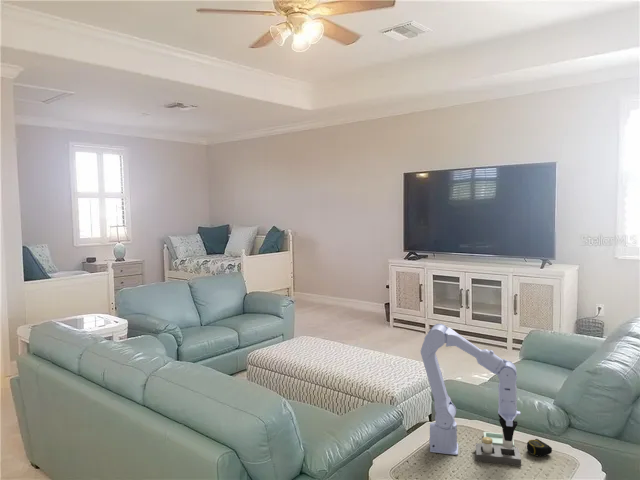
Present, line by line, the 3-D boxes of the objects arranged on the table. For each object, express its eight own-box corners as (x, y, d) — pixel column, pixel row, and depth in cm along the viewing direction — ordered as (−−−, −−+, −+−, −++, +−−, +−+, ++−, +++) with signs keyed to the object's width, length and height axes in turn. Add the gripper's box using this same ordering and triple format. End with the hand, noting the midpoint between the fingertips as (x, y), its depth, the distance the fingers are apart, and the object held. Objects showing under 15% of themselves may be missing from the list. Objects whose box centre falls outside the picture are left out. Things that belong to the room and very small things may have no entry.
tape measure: (553, 456, 164) (553, 445, 164) (536, 460, 162) (536, 449, 162) (538, 447, 170) (538, 437, 170) (522, 450, 168) (522, 440, 168)
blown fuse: (502, 448, 162) (502, 431, 162) (502, 443, 165) (502, 426, 165) (513, 449, 161) (513, 432, 161) (512, 444, 164) (512, 427, 164)
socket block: (476, 460, 162) (476, 454, 162) (475, 449, 170) (475, 443, 170) (521, 465, 158) (521, 459, 158) (518, 453, 166) (518, 447, 166)
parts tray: (484, 446, 172) (484, 441, 172) (483, 435, 180) (483, 431, 180) (514, 449, 169) (514, 444, 169) (512, 438, 177) (512, 434, 177)
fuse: (482, 458, 164) (482, 441, 164) (482, 453, 167) (482, 436, 167) (492, 459, 163) (492, 442, 163) (492, 454, 166) (492, 437, 166)
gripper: (522, 408, 154) (522, 449, 155) (518, 391, 168) (518, 429, 169) (499, 406, 156) (499, 447, 157) (496, 389, 170) (496, 427, 171)
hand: (507, 437), depth 163 cm, fingers closed on blown fuse, 3 cm apart
